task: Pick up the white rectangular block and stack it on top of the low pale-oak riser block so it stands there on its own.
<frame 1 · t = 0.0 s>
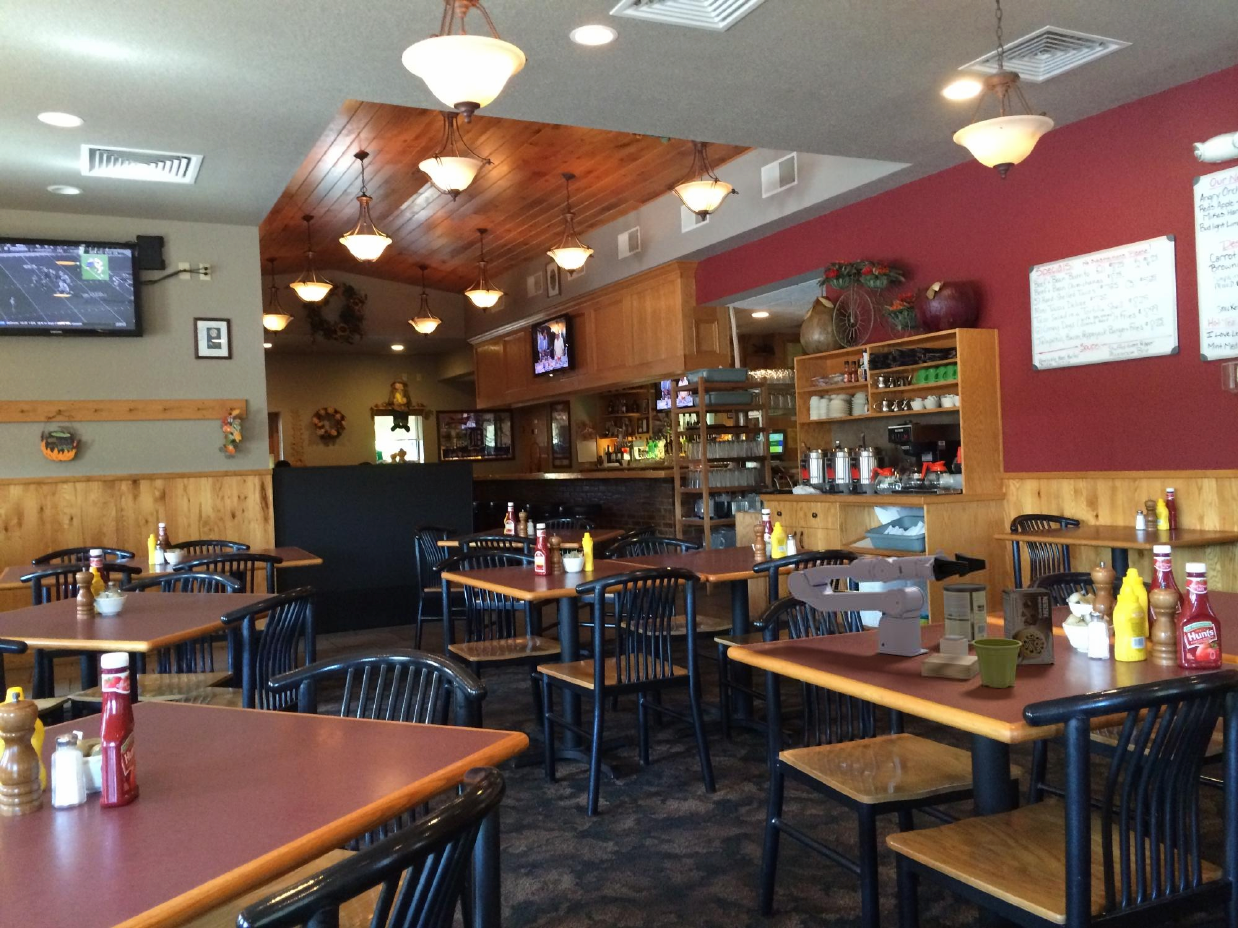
hand: (976, 565, 224), 22 cm above the table, tool horizontal, fingers open, 7 cm apart
coffee can: (966, 641, 251), on the table
riser: (951, 672, 214), on the table
plant pot: (998, 686, 201), on the table
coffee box: (1029, 662, 223), on the table
white rectangular block: (954, 663, 224), on the table
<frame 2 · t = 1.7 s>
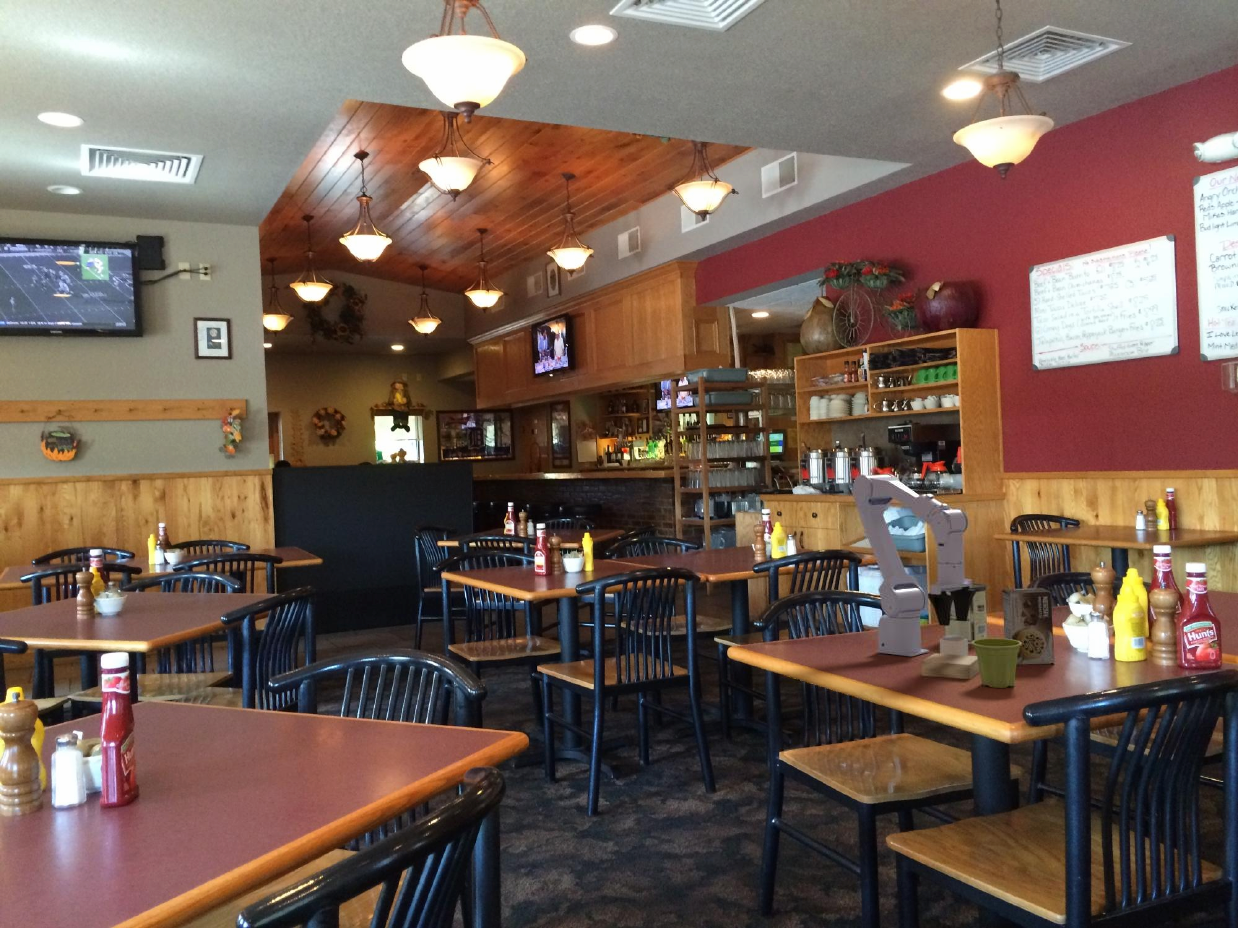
hand: (953, 623, 224), 9 cm above the table, tool pointing down, fingers open, 7 cm apart
nothing on the table moved.
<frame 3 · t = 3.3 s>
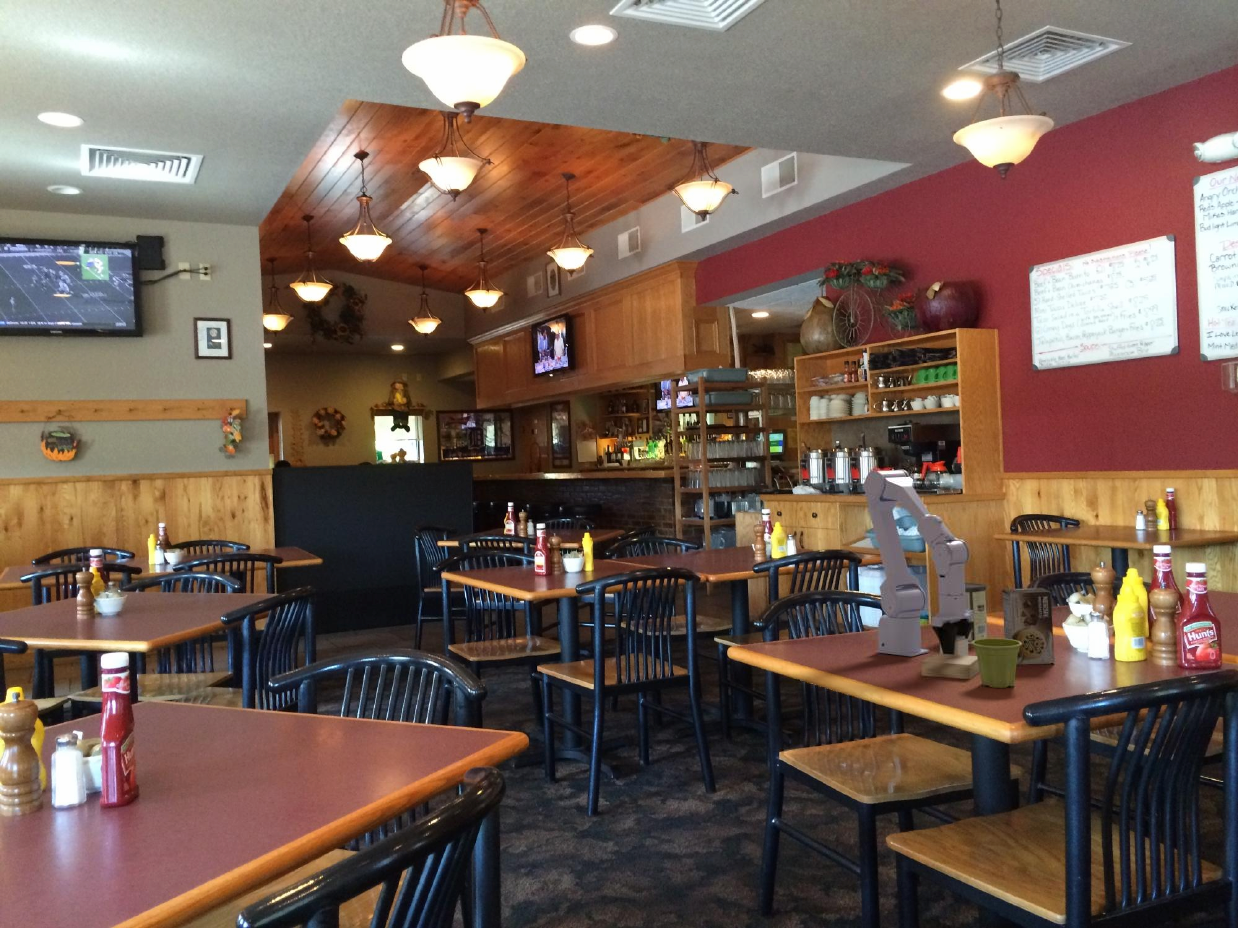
hand: (954, 654, 224), 2 cm above the table, tool pointing down, fingers closed on white rectangular block, 4 cm apart
white rectangular block: (954, 662, 224), on the table, touching gripper
everything else where it was.
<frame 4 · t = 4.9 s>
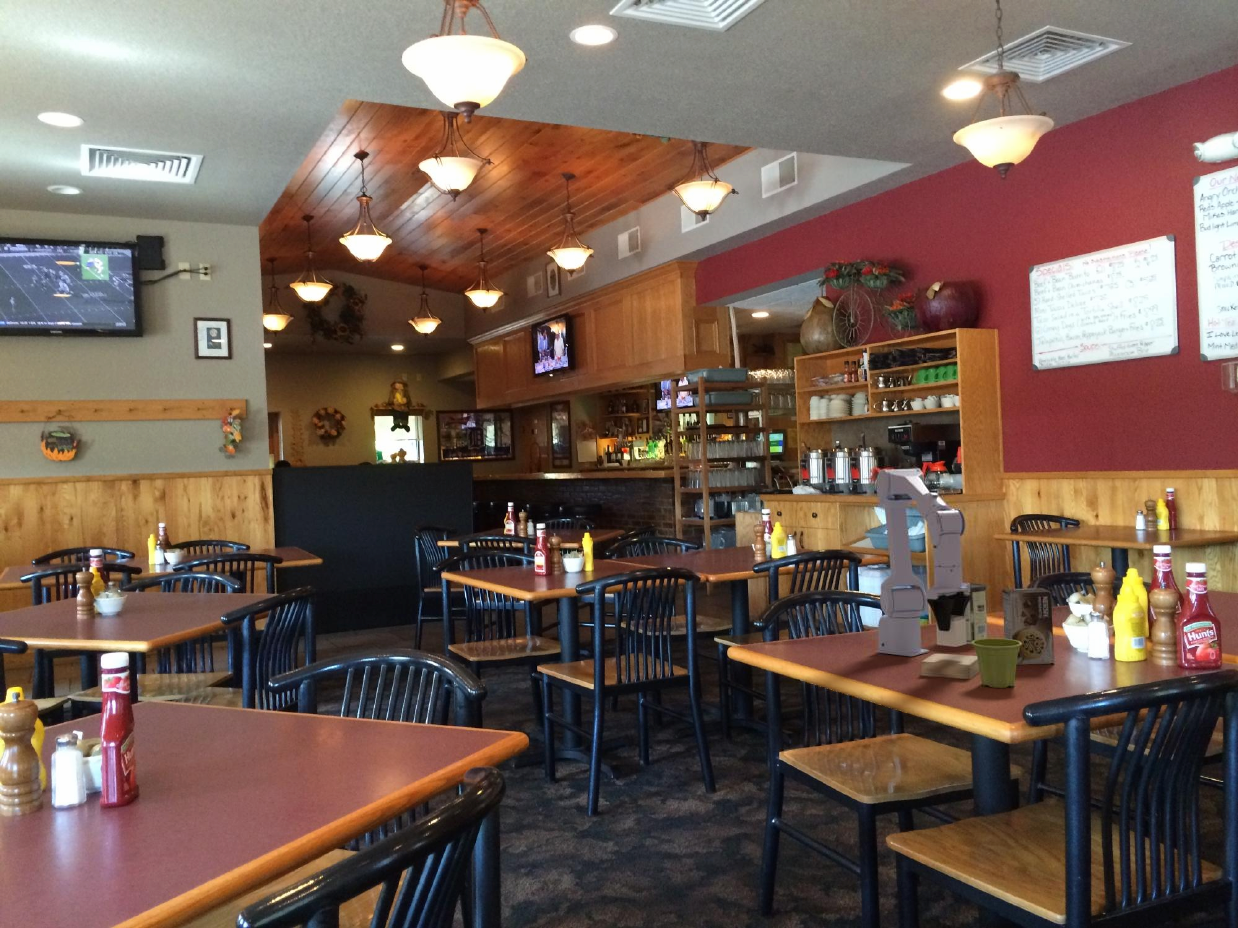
hand: (950, 629, 214), 9 cm above the table, tool pointing down, fingers closed on white rectangular block, 4 cm apart
white rectangular block: (951, 644, 214), point 6 cm above the table, touching gripper
everything else where it was.
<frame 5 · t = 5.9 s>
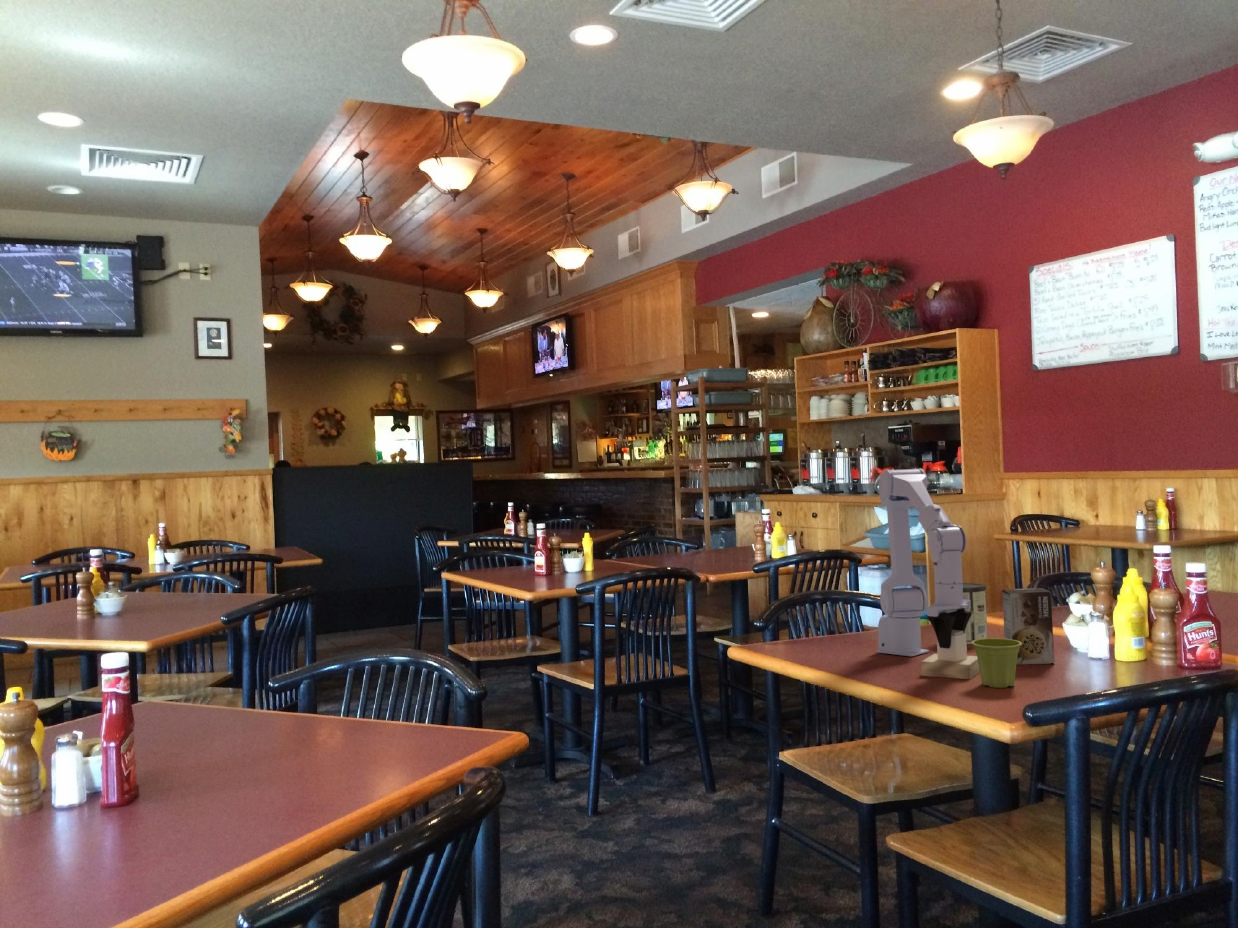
hand: (950, 646, 214), 6 cm above the table, tool pointing down, fingers closed on white rectangular block, 4 cm apart
white rectangular block: (952, 658, 214), point 3 cm above the table, touching gripper, riser
everything else where it was.
when the fingers open (6 cm above the table, at t = 6.6 s): white rectangular block stays where it is, resting on riser.
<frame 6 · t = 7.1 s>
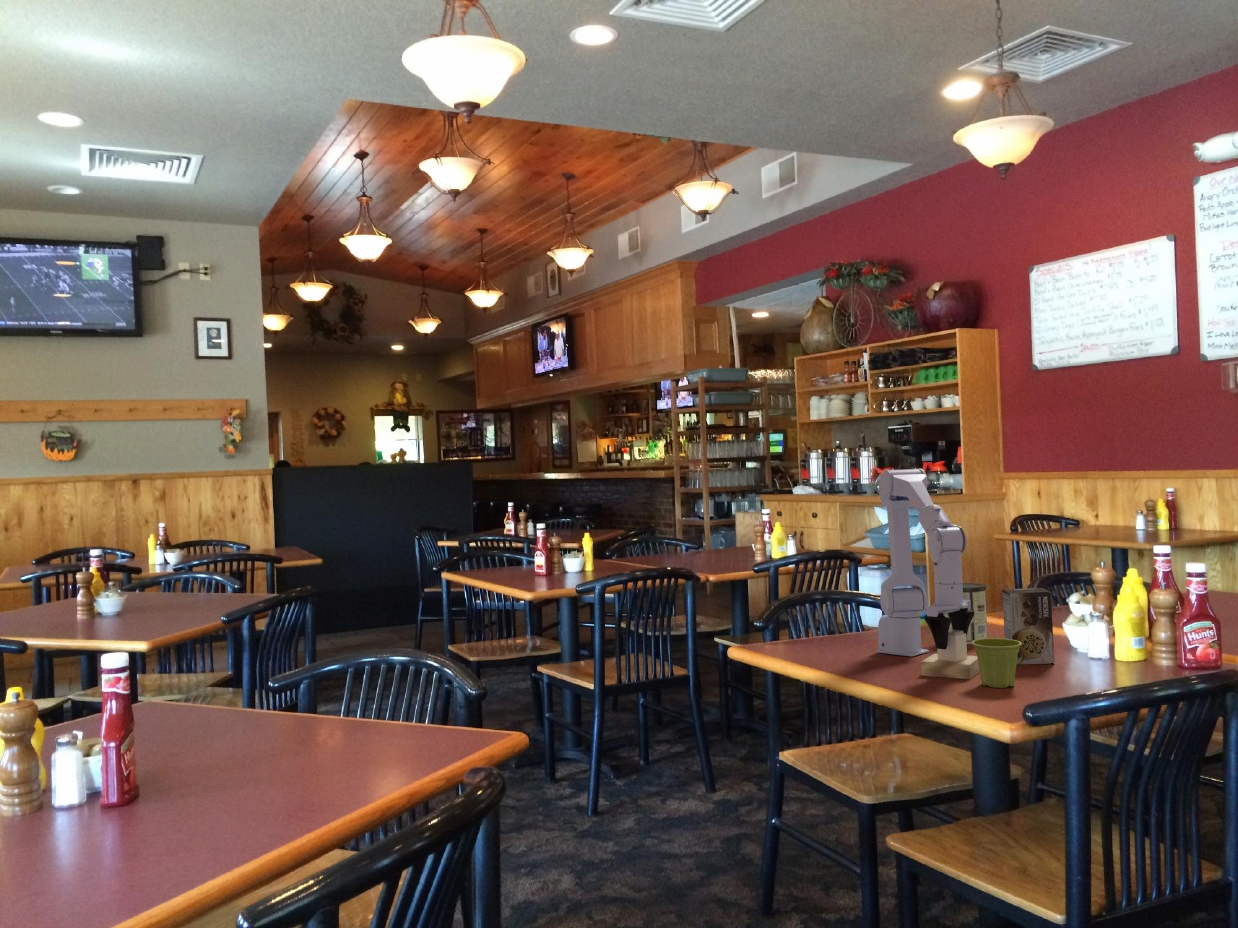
hand: (950, 646, 214), 6 cm above the table, tool pointing down, fingers open, 7 cm apart
white rectangular block: (952, 658, 214), point 3 cm above the table, touching riser
everything else where it was.
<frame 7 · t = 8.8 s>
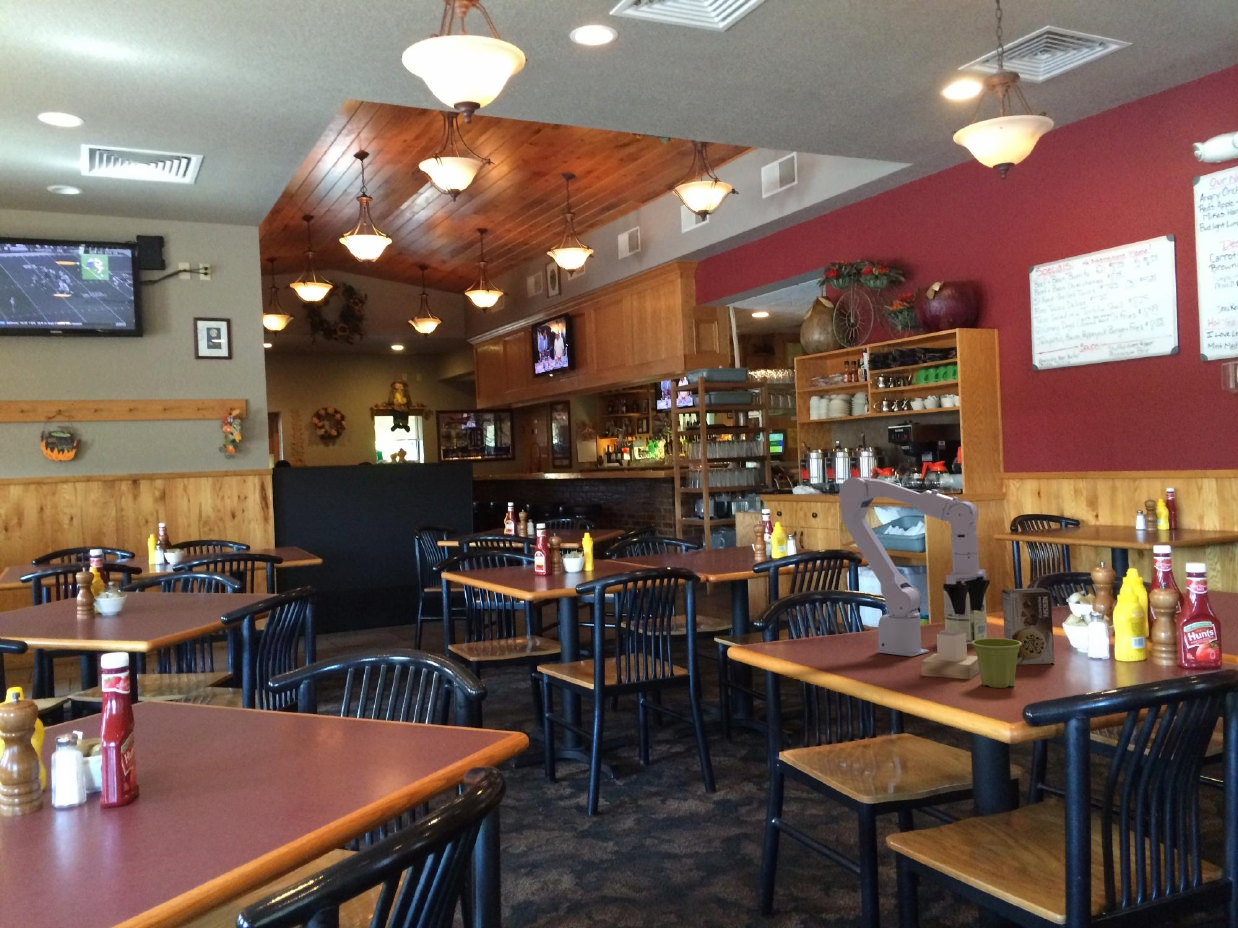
hand: (968, 612, 230), 10 cm above the table, tool pointing down, fingers open, 7 cm apart
nothing on the table moved.
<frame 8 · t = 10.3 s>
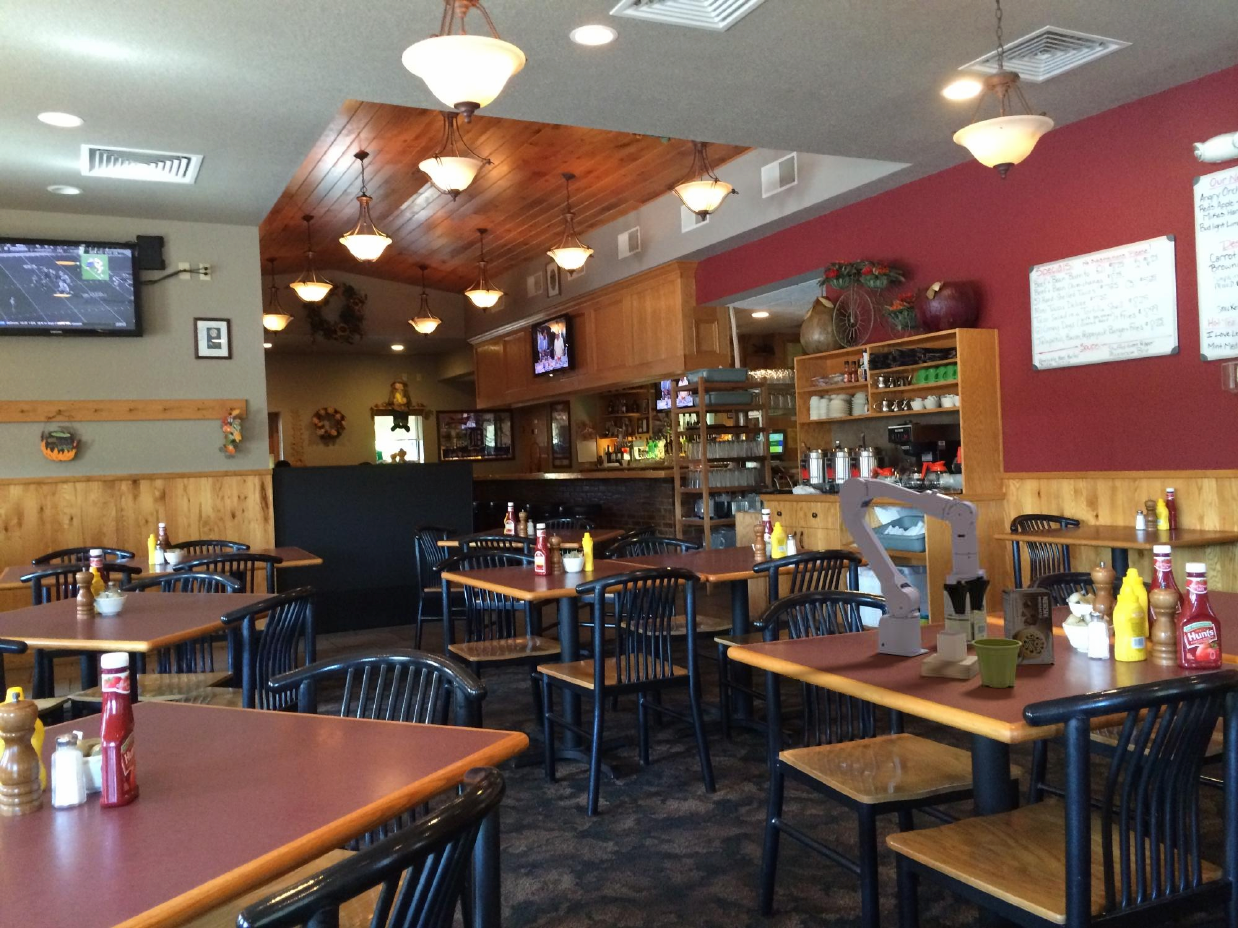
hand: (968, 612, 230), 10 cm above the table, tool pointing down, fingers open, 7 cm apart
nothing on the table moved.
at the end: white rectangular block inside the target area on the riser (0.2 cm from its centre), point 3.0 cm above the riser's base; white rectangular block tilted 0°; the gripper is holding nothing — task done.
